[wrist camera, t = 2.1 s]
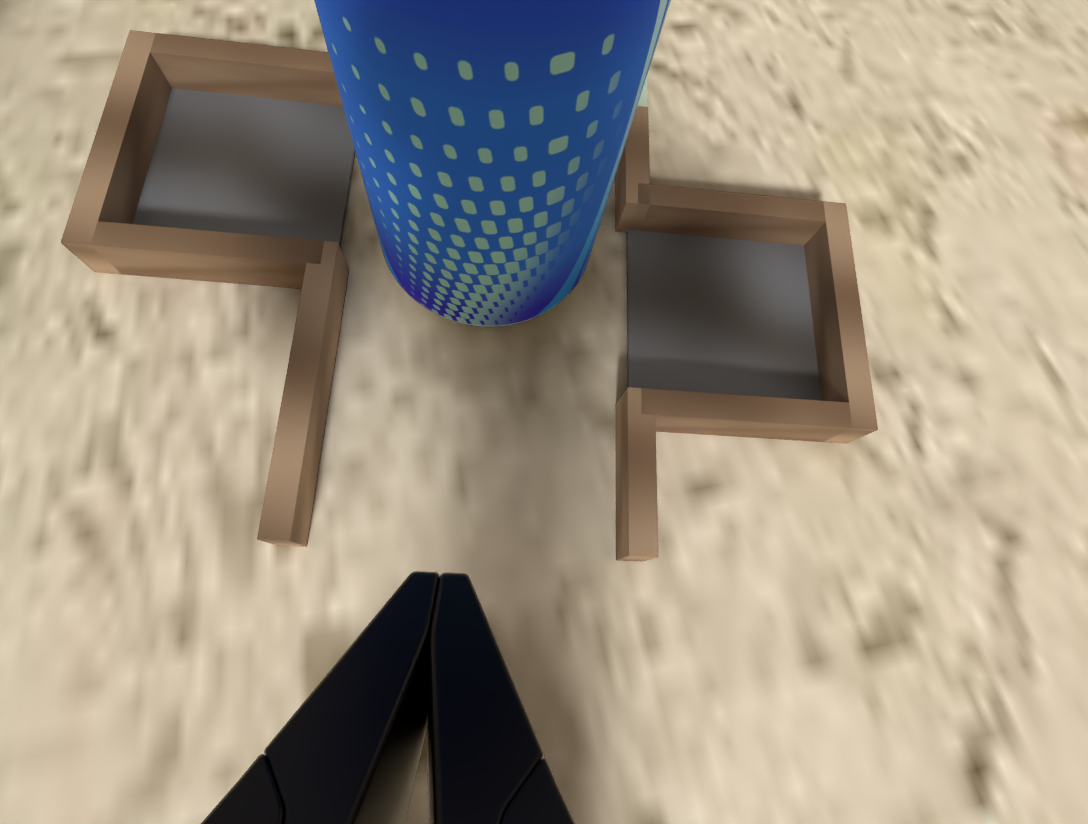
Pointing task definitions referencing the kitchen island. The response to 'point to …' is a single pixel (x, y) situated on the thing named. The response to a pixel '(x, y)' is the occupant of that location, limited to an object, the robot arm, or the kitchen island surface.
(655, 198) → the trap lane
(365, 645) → the robot arm
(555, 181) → the beer can
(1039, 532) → the kitchen island surface
